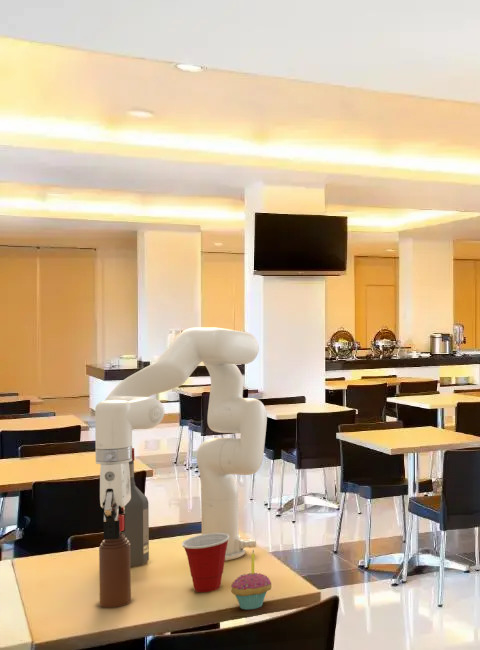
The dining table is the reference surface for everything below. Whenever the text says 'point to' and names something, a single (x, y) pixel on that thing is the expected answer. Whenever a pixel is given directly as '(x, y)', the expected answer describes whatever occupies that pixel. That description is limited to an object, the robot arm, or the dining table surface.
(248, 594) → the cupcake
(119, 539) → the sauce bottle
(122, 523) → the cap
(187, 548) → the plastic cup
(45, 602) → the dining table surface
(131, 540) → the liquor
